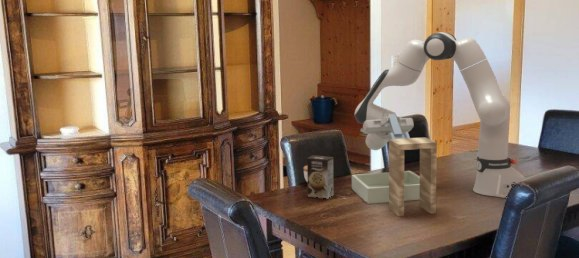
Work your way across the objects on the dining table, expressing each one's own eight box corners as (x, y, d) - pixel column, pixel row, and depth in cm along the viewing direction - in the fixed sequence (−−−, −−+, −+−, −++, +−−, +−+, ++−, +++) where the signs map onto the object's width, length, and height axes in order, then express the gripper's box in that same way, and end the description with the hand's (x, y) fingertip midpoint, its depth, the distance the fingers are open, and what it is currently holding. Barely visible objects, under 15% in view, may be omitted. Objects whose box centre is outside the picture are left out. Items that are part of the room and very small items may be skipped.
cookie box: (307, 196, 222) (306, 157, 219) (314, 192, 227) (313, 154, 224) (327, 199, 217) (327, 159, 215) (334, 195, 223) (333, 156, 220)
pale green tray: (410, 184, 236) (410, 170, 235) (431, 198, 214) (431, 183, 213) (351, 188, 231) (351, 174, 230) (367, 203, 210) (367, 188, 209)
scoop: (398, 116, 218) (400, 111, 215) (410, 148, 208) (412, 144, 206) (382, 117, 217) (383, 112, 214) (392, 150, 207) (394, 145, 204)
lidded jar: (308, 188, 234) (307, 167, 232) (300, 182, 244) (300, 161, 242) (331, 186, 236) (331, 164, 235) (323, 180, 247) (323, 159, 245)
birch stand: (424, 205, 206) (425, 137, 202) (435, 213, 197) (436, 142, 192) (388, 208, 204) (389, 139, 200) (398, 216, 194) (398, 144, 190)
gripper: (358, 125, 226) (366, 112, 213) (405, 122, 229) (416, 109, 216) (360, 139, 224) (369, 127, 211) (407, 136, 227) (419, 124, 214)
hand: (393, 118), depth 214 cm, fingers closed on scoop, 3 cm apart
